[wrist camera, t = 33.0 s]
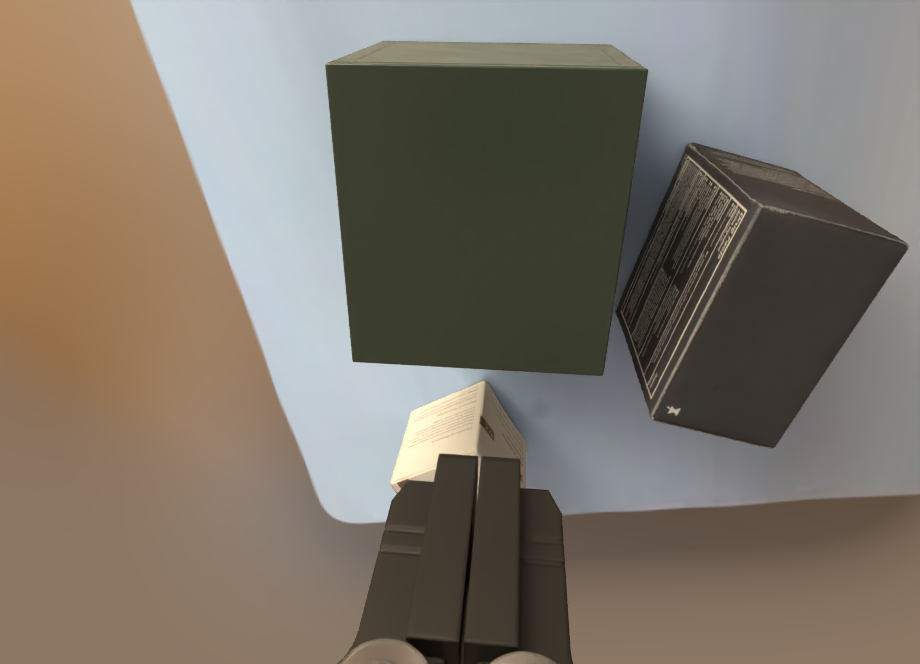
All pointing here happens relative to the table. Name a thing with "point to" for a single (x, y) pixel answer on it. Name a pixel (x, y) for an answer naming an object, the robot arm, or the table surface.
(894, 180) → the table surface
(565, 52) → the bin
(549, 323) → the bin lid
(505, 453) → the white cardboard box
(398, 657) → the robot arm
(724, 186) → the small box
